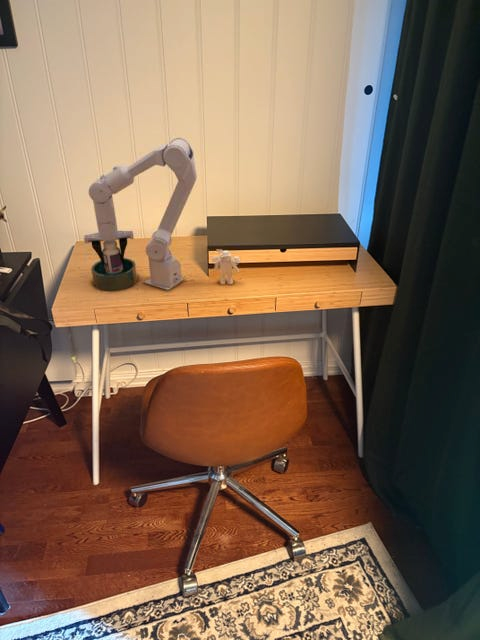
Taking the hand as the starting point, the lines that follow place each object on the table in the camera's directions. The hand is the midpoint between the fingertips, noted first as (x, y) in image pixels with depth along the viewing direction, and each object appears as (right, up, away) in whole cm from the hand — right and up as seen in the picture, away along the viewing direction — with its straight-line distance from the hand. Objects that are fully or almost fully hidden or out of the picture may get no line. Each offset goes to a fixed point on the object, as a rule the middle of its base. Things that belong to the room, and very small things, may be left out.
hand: (113, 261), depth 149 cm
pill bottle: (0, -3, +2) cm, 3 cm away
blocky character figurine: (+36, -7, +3) cm, 36 cm away
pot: (0, -6, +4) cm, 7 cm away
